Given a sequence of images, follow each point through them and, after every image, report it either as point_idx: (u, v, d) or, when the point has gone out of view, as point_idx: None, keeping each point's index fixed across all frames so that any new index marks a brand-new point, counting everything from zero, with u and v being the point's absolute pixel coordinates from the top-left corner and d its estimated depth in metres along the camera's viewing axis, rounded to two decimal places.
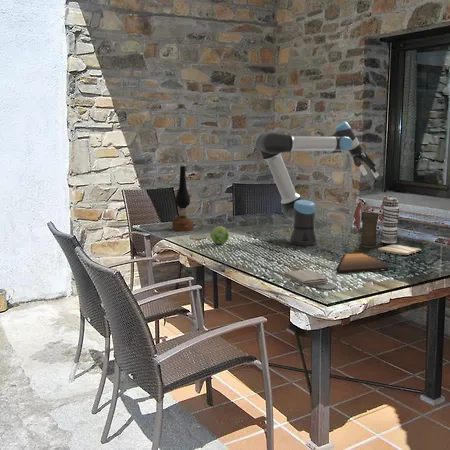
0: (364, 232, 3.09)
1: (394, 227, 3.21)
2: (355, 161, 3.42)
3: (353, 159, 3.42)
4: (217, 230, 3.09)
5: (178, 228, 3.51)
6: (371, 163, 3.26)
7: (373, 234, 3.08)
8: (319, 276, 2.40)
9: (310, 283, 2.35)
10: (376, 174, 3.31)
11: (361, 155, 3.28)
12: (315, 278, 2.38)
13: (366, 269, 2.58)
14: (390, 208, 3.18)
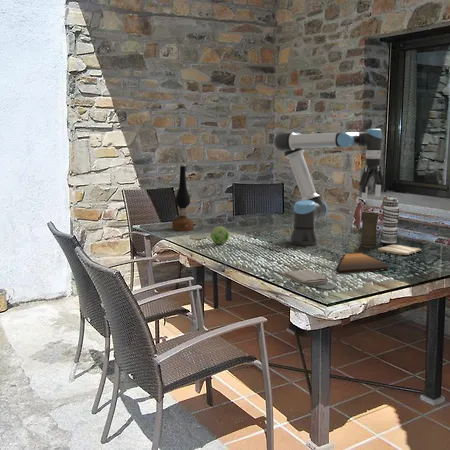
0: (364, 232, 3.09)
1: (394, 227, 3.21)
2: None
3: None
4: (217, 230, 3.09)
5: (178, 228, 3.51)
6: (362, 180, 3.00)
7: (373, 234, 3.08)
8: (319, 276, 2.40)
9: (310, 283, 2.35)
10: (364, 195, 3.03)
11: (365, 168, 3.02)
12: (315, 278, 2.38)
13: (366, 269, 2.58)
14: (390, 208, 3.18)
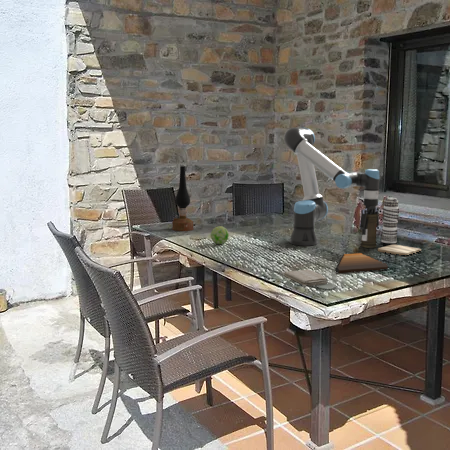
0: None
1: (394, 227, 3.21)
2: None
3: None
4: (217, 230, 3.09)
5: (178, 228, 3.51)
6: (362, 223, 3.05)
7: (373, 234, 3.08)
8: (319, 276, 2.41)
9: (311, 283, 2.35)
10: (364, 237, 3.08)
11: (362, 210, 3.06)
12: (316, 278, 2.38)
13: (365, 269, 2.58)
14: (390, 208, 3.18)
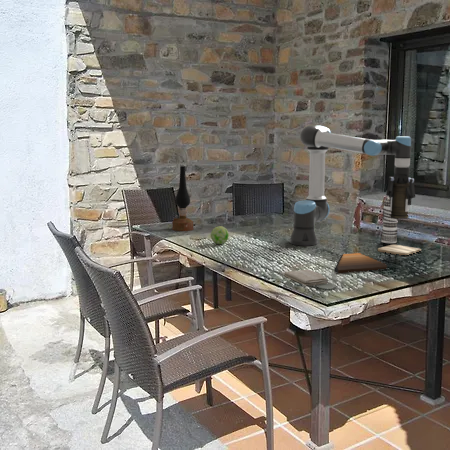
0: None
1: (394, 227, 3.21)
2: (389, 188, 2.99)
3: (388, 185, 2.99)
4: (217, 230, 3.09)
5: (178, 228, 3.51)
6: (413, 193, 2.90)
7: None
8: (320, 276, 2.41)
9: (312, 283, 2.35)
10: (408, 207, 2.94)
11: (410, 179, 2.90)
12: (316, 278, 2.38)
13: (364, 269, 2.58)
14: None
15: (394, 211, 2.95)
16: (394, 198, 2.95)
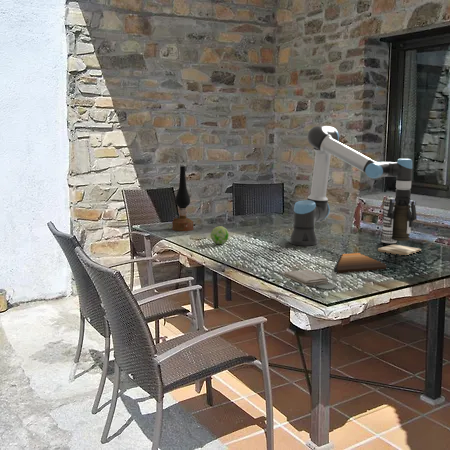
0: None
1: None
2: (390, 210, 3.00)
3: (389, 207, 3.00)
4: (217, 230, 3.09)
5: (178, 228, 3.51)
6: (415, 215, 2.92)
7: None
8: (320, 276, 2.41)
9: (312, 283, 2.35)
10: (409, 229, 2.95)
11: (411, 201, 2.91)
12: (316, 278, 2.38)
13: (364, 269, 2.58)
14: None
15: (395, 233, 2.96)
16: (396, 220, 2.95)
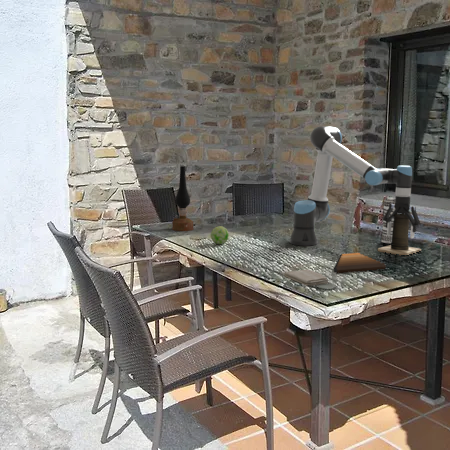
0: (406, 234, 2.96)
1: None
2: (387, 215, 3.02)
3: (387, 211, 3.01)
4: (217, 230, 3.09)
5: (178, 228, 3.51)
6: (417, 220, 2.91)
7: None
8: (320, 276, 2.41)
9: (313, 283, 2.35)
10: (413, 234, 2.94)
11: (411, 207, 2.91)
12: (317, 278, 2.38)
13: (363, 269, 2.58)
14: None
15: (395, 242, 2.97)
16: (395, 229, 2.97)
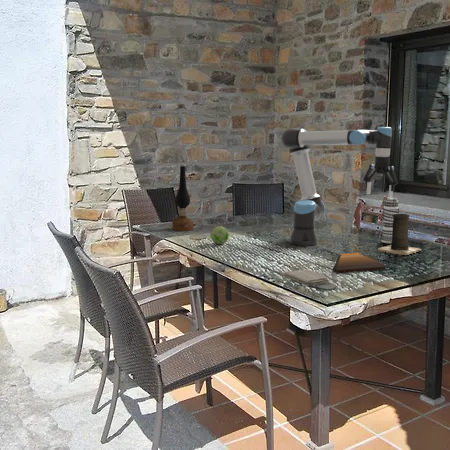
0: (406, 234, 2.96)
1: None
2: (367, 175, 3.11)
3: (367, 172, 3.11)
4: (217, 230, 3.09)
5: (178, 228, 3.51)
6: (396, 179, 3.00)
7: None
8: (320, 276, 2.41)
9: (313, 283, 2.35)
10: (391, 193, 3.03)
11: (389, 167, 3.01)
12: (317, 278, 2.39)
13: (363, 269, 2.58)
14: (390, 208, 3.18)
15: (394, 242, 2.97)
16: (395, 229, 2.96)
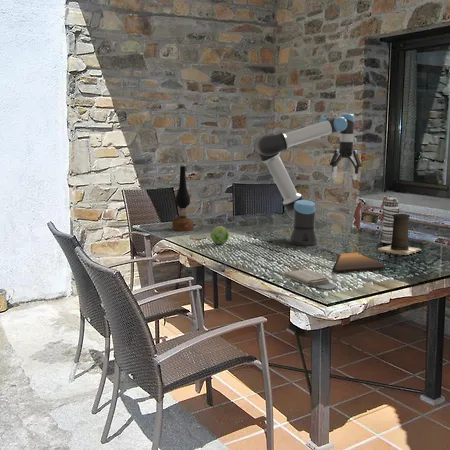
0: (406, 234, 2.96)
1: None
2: (333, 159, 3.33)
3: (333, 156, 3.33)
4: (217, 230, 3.09)
5: (178, 228, 3.51)
6: (359, 162, 3.22)
7: None
8: (321, 275, 2.41)
9: (314, 283, 2.35)
10: (355, 176, 3.25)
11: (353, 151, 3.23)
12: (317, 278, 2.39)
13: (362, 269, 2.59)
14: (390, 208, 3.18)
15: (394, 242, 2.97)
16: (395, 229, 2.96)
